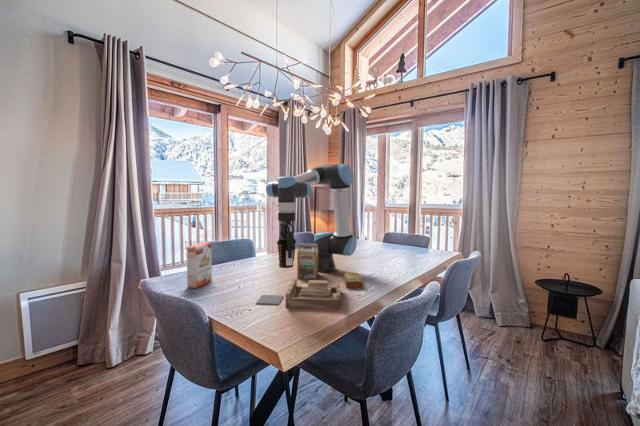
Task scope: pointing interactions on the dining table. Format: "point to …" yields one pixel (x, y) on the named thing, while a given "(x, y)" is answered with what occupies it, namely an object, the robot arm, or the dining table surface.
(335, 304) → the brown wooden tray
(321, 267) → the robot arm
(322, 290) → the offcut stack
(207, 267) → the cracker box
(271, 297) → the coaster
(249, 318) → the dining table surface
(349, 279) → the carton
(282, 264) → the coffee cup
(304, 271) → the milk carton
